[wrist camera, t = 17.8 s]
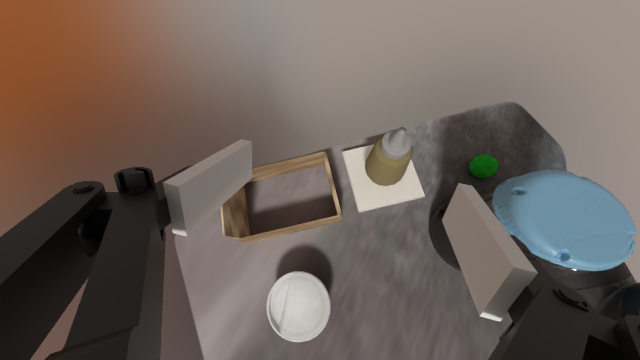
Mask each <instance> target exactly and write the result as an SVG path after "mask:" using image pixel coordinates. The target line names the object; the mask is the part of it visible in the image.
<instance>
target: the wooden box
mask: <svg viewBox="0 0 640 360" xmlns="http://www.w3.org/2000/svg"><path fill="white" fill-rule="evenodd" d="M324 164H325V168H326V172H327V176H328V180H329V184H330V188H331V192H332V196H333V200H334V204H335V208H336V212H337V215H336V216H332V217H328V218H323V219H319V220H315V221H311V222H307V223H302V224H298V225H294V226H290V227H285V228H281V229H277V230H273V231H269V232H264V233H260V234H256V235H252V236H250V228H249V220H248V212H247V204H246V196H245V188H244V186H243V187H242V188H240V189H239V190H238V191H237V192H236V193H235V194H234V195H233V196H232V197H230V198H229V199H228V200H227V201H226V202H225V203H224V204H223V205H222V206H221V217H222V229H223V236H226V237H231V238H237V239H238V241H241V242H247V243H251V242H255V241H260V240H264V239H268V238H272V237H277V236H281V235H285V234H289V233H293V232H298V231H302V230H306V229H310V228H315V227H319V226H323V225H327V224H331V223H336V222H340V221H341V219H342V214H341V210H340V206H339V202H338V198H337V194H336V190H335V186H334V182H333V178H332V174H331V170H330V166H329V162H328V158H327V155H326V153H325V152H319V153H315V154H311V155H307V156H303V157H299V158H294V159H290V160H286V161H282V162H278V163H273V164H269V165H265V166H261V167H257V168H253V169H252V179H250V180H249V181H248V182H247V183H249V182H253V181H257V180H261V179H266V178H270V177H274V176H278V175H282V174H287V173H291V172H295V171H299V170H303V169H308V168H312V167H316V166H320V165H324Z"/></svg>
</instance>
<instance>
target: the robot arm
mask: <svg viewBox="0 0 640 360" xmlns="http://www.w3.org/2000/svg"><path fill="white" fill-rule="evenodd" d="M114 178H115V182H116V185H117V188H118V191H119V192H105V189H104V186H103V184H102V183H100V182H95V181H89V182H88V181H84V182H81V183H80V182H78V183H75V184H73V185H70V186H68V187H66V188H64V189H63V190H62V191H60V192H59V193H58V194H56V195H55V196H54V197H52V198H51V199H50V200H48V201H47V202H46V203H44V204H43V205H42V206H40V207H39V208H38V209H37V210H35V211H34V212H33V213H32V214H30V215H29V216H27V217H26V218H25V219H23V220H22V221H21V222H19V223H18V224H17V225H15V226H14V227H13V228H12V229H10V230H9V231H8V232H6V233H5V234H4V235H2V236H1V237H0V360H30V359H31V357H32V356H33V355H34V353H35V352H36V350H37V349H38V348H39V346H40V345H41V343H42V342H43V341H44V339H45V338H46V336H47V335H48V333H49V332H50V331H51V329H52V328H53V326H54V325H55V323H56V322H57V321H58V319H59V318H60V317H61V315H62V314H63V312H64V311H65V309H66V308H67V307H68V305H69V304H70V302H71V301H72V300H73V298H74V297H75V295H76V294H77V293H78V291H79V290H80V288H81V287H82V285H83V284H84V283H85V281H86V280H87V278H88V277H89V278H88V281H87V284H86V287H85V290H84V292H83V295H82V298H81V301H80V304H79V307H78V309H77V313H76V315H75V318H74V321H73V324H72V326H71V329H70V332H69V335H68V338H67V341H66V344H65V345H64V347H63V349H62V350H61V351H58V352H55V353H52V354H50V355H49V356H48V357H47V358H46V359H45V360H160V348H161V326H162V305H163V282H164V260H165V238H166V233H165V227H166V226H167V225H169V224H170V223H171V226H172V231H173V233H176V234H179V235H183V236H188V235H189V234H191V233H192V232H193V231H194V230H195V229H196V228H197V227H198V226H199V225H201V224H202V223H203V222H204V221H205V220H206V219H207V218H208V217H209V216H211V215H212V214H213V213H214V212H215V211H216V210H217V209H218V208H219V207H221V206H222V205H223V204H224V203H225V202H226V201H227V200H228V199H229V198H230V197H232V196H233V195H234V194H235V193H236V192H237V191H238V190H239V189H240V188H242V187H243V186H244V185H245V184H246V183H247V182H248V181H249V180H250V179H252V141H247V140H242V139H241V140H239V141H237V142H235V143H234V144H232V145H230V146H228V147H226V148H224V149H223V150H221V151H219V152H217V153H215V154H214V155H212V156H210V157H208V158H206V159H205V160H203V161H201V162H199V163H197V164H195V165H192V166H188V167H185V168H183V169H181V170H179V171H178V172H176V173H174V174H172V175H171V176H168V177H166V178H164V179H163V180H161V181H159V182H157V183H154V178H153V174H152V171H151V170H150V169H149V168H144V167H134V168H127V169H123V170H120V171H118V172H116V173H115V174H114ZM429 231H430V237H431V241H432V243H433V246H434V248H435V249H436V251H437V253H438V254H439V255H440V256H441V258H442V259H443V260H444V261H446V262H447V263H448V264H449V265H451V266H452V267H454V268H456V269H458V270H460V271H462V273H463V275H464V278H465V280H466V283H467V285H468V288H469V290H470V293H471V296H472V298H473V301H474V303H475V306H476V308H477V311H478V313H479V316H481V317H485V318H488V319H492V320H496V321H501V320H502V319H503V317H504V316H505V315H506V313H507V312H508V313H509V315H510V317H511V319H512V321H513V322H512V323H511V324H510V326H509V327H508V328H507V329H506V331H505V332H504V333H503V334H502V336H501V337H500V338H499V339H500V341H499V343H498V345H497V346H496V348H495V350H494V351H493V353H492V354H491V356H490V358H489V359H488V360H640V283H638V282H637V281H636V280H635V278H634V277H633V275H632V274H631V272H630V271H629V269H628V267H627V266H626V264H625V263H624V261H626V260H627V259H628V258H629V257H630V256H631V254H632V253H633V250H634V249H635V246H636V242H635V241H633V240H632V239H631V237H632V236H635V235H636V227H635V224H634V222H633V220H632V218H631V216H630V214H629V212H628V211H627V209H626V208H625V206H624V205H623V204H622V203H621V202H620V201H619V200H618V199H617V198H616V197H615V196H614V195H613V194H612V193H611V192H610V191H608V190H607V189H606V188H604V187H603V186H601V185H599V184H598V183H596V182H594V181H592V180H590V179H588V178H585V177H579V176H576V175H575V174H573V173H571V172H567V171H560V170H539V171H534V172H530V173H527V174H525V175H522V176H517V177H513V178H510V179H508V180H506V181H504V182H503V183H501V184H500V185H498V186H496V187H494V188H492V189H490V190H488V191H486V192H483V193H481V194H478V193H477V191H476V190H475V189H474V187H473V186H471V185H466V184H461V183H458V185H457V188H456V190H455V192H454V194H453V197H451V198H449V199H447V200H445V201H444V202H442V203H441V204H440V205H439V206H438V207H437V208H436V209H435V210H434V212H433V214H432V216H431V219H430V226H429Z"/></svg>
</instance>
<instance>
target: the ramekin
mask: <svg viewBox="0 0 640 360" xmlns="http://www.w3.org/2000/svg"><path fill="white" fill-rule="evenodd" d="M330 310H331V303H330V297H329V294H328V291H327V289H326V287H325V285H324V284H323V283H322V282H321V280H320V279H318V278H317V277H316V276H314V275H313V274H311V273H308V272H304V271H293V272H289V273H287V274H285V275H283V276H282V277H280V278H279V279H278V280H277V281H276V282H275V283H274V285H273V286H272V288H271V290H270V292H269V295H268V299H267V315H268V318H269V321H270V324H271V326H272V327H273V329H274V330H275V331H276V332H277V333H278V334H279V335H280V336H281V337H283V338H284V339H286V340H289V341H293V342H304V341H308V340H310V339H312V338H314V337H316V336H317V335H318V334H319V333H320V332H321V331H322V330H323V329H324V327H325V326H326V324H327V322H328V319H329V316H330Z"/></svg>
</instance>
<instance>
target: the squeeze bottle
mask: <svg viewBox="0 0 640 360" xmlns="http://www.w3.org/2000/svg"><path fill="white" fill-rule="evenodd" d="M412 153H413V148H412V145H411V139H410V137H409V136H408V135H407V134H406V129H405V128H403V127H401V128H399V129H398V130H392V131H389V132H387V133H386V134H384V135H382V136H381V137H379V138H378V140H377V141H376V143H375V144H374V146H373V148H372V150H371V152H370V154H369V155H368V157H367V159H366V162H365V170H366V174H367V176H368V177H369V178H370V179H371V181H372V182H374V183H375V184H377V185H381V186H390V185H394V184H396V183H397V182H399V181H400V180H401V179H402V177H403V176H404V174H405V172H406V169H407V167H408V165H409V162H410V160H411V158H412Z"/></svg>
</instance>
